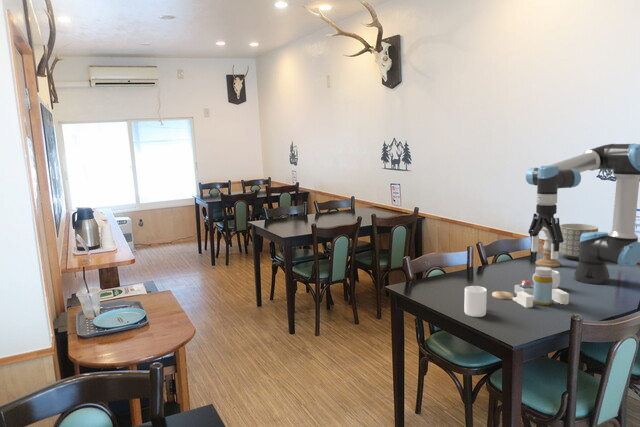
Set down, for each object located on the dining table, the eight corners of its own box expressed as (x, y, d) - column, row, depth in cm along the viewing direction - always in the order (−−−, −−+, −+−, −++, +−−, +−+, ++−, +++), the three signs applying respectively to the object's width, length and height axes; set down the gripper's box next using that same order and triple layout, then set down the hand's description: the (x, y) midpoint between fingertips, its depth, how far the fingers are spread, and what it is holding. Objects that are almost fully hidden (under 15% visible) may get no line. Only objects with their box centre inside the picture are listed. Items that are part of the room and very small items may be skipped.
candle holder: (564, 267, 258) (566, 229, 255) (541, 267, 258) (542, 230, 255) (554, 261, 270) (555, 225, 267) (531, 262, 270) (533, 226, 267)
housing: (541, 290, 221) (541, 280, 221) (568, 304, 203) (568, 293, 202) (501, 293, 218) (502, 283, 218) (525, 307, 200) (526, 297, 199)
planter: (564, 262, 269) (566, 229, 266) (554, 253, 287) (555, 223, 285) (601, 262, 266) (604, 229, 263) (588, 254, 284) (590, 223, 282)
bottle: (553, 306, 201) (555, 270, 198) (535, 305, 202) (536, 270, 200) (549, 300, 207) (550, 266, 205) (531, 300, 209) (532, 265, 207)
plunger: (527, 289, 218) (528, 279, 218) (532, 292, 215) (533, 282, 214) (519, 290, 218) (519, 280, 217) (524, 292, 214) (524, 282, 213)
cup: (460, 314, 195) (461, 289, 193) (473, 306, 203) (474, 282, 202) (480, 318, 189) (481, 293, 188) (493, 310, 198) (493, 286, 196)
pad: (506, 292, 220) (507, 290, 220) (517, 298, 211) (518, 296, 211) (488, 293, 219) (488, 292, 218) (498, 300, 210) (498, 298, 210)
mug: (562, 287, 224) (563, 271, 223) (556, 292, 218) (557, 275, 217) (535, 283, 233) (536, 267, 231) (528, 287, 226) (529, 270, 225)
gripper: (521, 200, 210) (519, 249, 213) (557, 208, 186) (554, 262, 189) (537, 199, 211) (535, 248, 214) (575, 207, 187) (572, 261, 190)
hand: (544, 255), depth 202 cm, fingers open, 13 cm apart
